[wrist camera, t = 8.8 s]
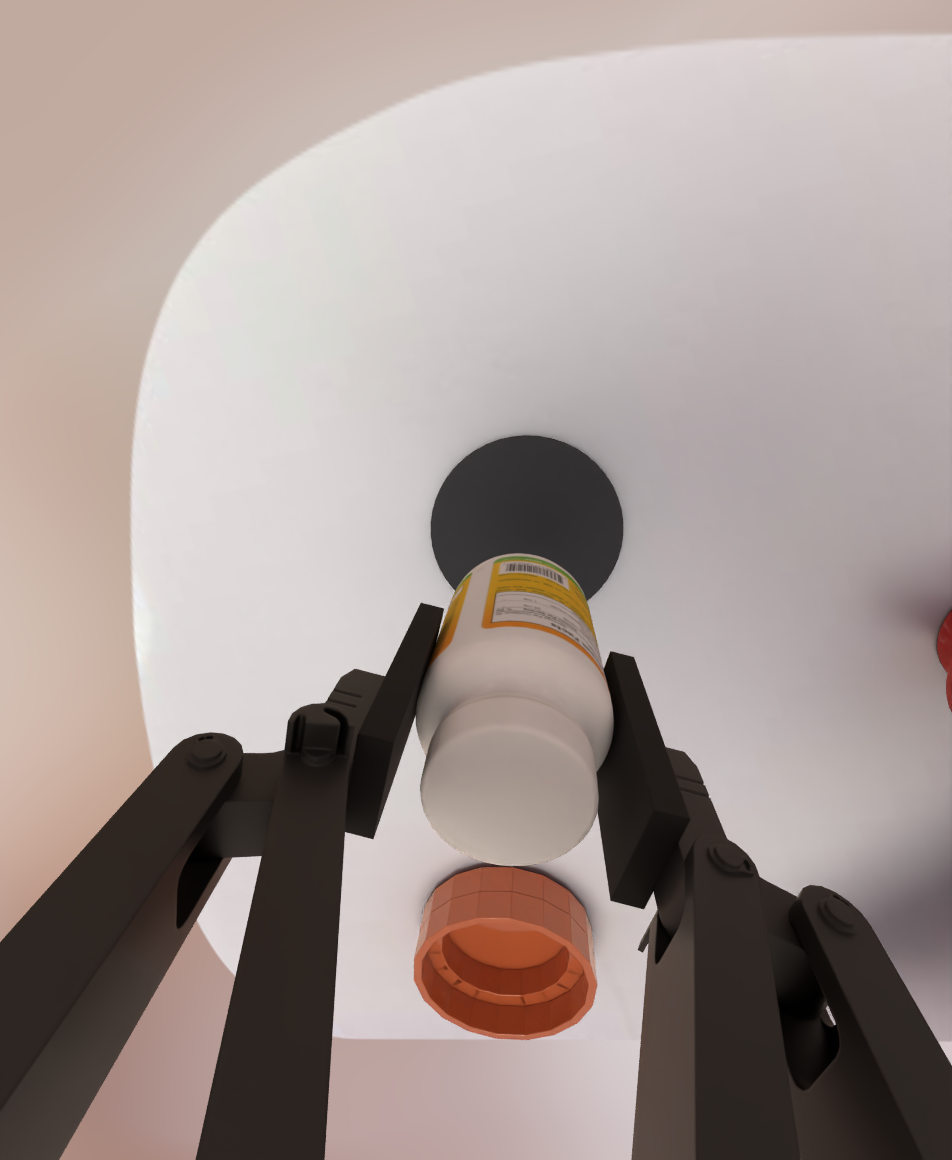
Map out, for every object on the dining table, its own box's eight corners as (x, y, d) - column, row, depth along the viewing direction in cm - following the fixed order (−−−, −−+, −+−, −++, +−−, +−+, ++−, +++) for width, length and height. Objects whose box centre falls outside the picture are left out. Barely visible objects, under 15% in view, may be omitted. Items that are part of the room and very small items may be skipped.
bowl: (626, 931, 42) (636, 993, 38) (506, 999, 46) (504, 1061, 42) (506, 834, 39) (502, 889, 35) (392, 914, 44) (377, 972, 40)
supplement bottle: (491, 694, 22) (462, 915, 13) (425, 587, 21) (341, 754, 12) (612, 643, 21) (672, 852, 12) (550, 525, 19) (565, 660, 10)
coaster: (663, 532, 30) (664, 534, 30) (524, 651, 34) (524, 654, 33) (525, 391, 28) (525, 391, 28) (394, 533, 32) (392, 535, 31)
